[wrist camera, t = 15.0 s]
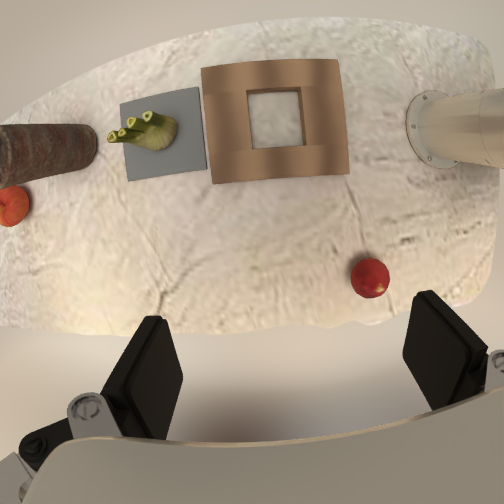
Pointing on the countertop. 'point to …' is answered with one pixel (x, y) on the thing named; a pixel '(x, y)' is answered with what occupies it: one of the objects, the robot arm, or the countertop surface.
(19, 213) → the apple
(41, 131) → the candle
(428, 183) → the countertop surface
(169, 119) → the fennel bulb
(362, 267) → the red ovoid
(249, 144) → the pocket holder
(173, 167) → the mat
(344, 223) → the countertop surface
